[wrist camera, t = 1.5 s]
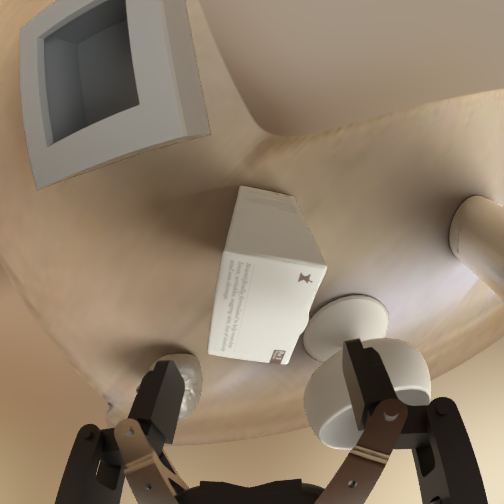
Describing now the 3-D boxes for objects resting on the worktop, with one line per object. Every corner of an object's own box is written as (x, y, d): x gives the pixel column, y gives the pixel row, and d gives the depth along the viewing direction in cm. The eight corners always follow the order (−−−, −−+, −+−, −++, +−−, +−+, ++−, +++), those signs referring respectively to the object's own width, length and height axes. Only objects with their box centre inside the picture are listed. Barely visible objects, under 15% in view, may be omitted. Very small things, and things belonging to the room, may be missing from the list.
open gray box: (184, -5, 18) (153, -49, 9) (211, 134, 25) (183, 136, 16) (75, 43, 20) (20, 28, 11) (94, 169, 27) (37, 190, 18)
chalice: (394, 348, 36) (429, 427, 22) (307, 375, 38) (318, 462, 25) (391, 272, 31) (451, 357, 17) (283, 306, 33) (292, 411, 19)
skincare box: (239, 183, 27) (216, 239, 14) (298, 196, 28) (333, 262, 14) (225, 258, 31) (200, 356, 17) (279, 268, 31) (289, 370, 17)
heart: (190, 395, 41) (183, 452, 30) (140, 368, 39) (120, 423, 27) (223, 360, 39) (224, 420, 28) (169, 328, 37) (151, 385, 26)
